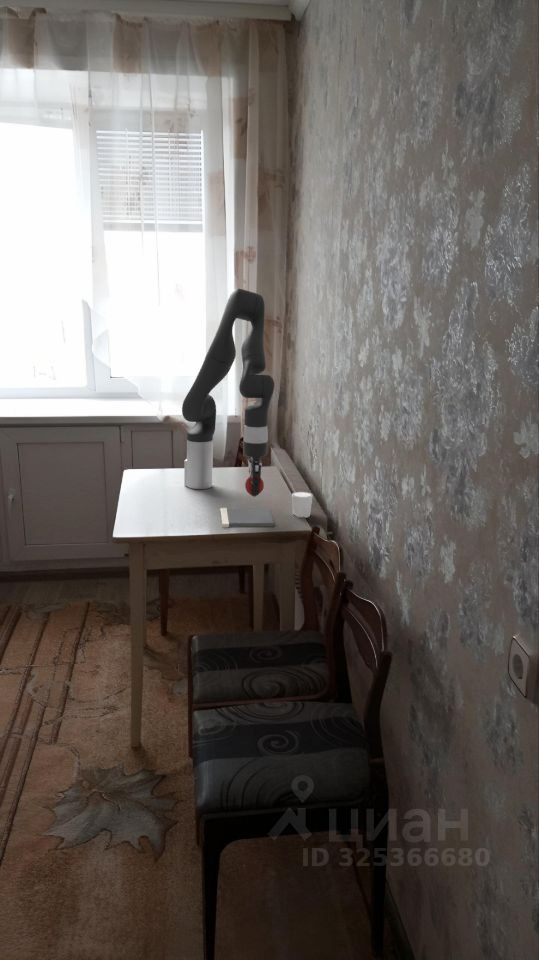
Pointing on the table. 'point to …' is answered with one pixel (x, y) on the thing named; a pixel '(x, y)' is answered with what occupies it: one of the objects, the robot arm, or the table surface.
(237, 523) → the mat
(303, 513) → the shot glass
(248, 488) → the onion
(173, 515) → the table surface
